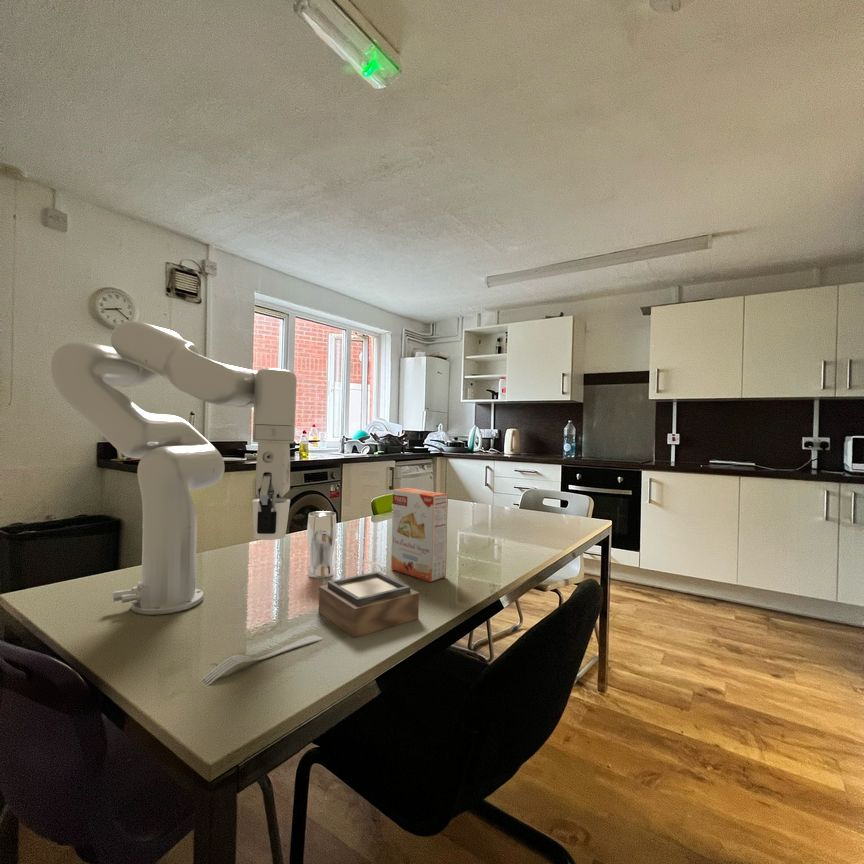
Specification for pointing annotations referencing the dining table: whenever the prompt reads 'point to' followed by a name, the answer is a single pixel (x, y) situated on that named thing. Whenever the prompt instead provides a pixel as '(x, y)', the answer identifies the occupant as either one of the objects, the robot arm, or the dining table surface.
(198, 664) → the dining table surface
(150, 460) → the robot arm
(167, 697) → the dining table surface
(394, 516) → the cracker box
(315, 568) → the beer glass
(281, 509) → the white cylinder
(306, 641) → the fork
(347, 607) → the display plinth
